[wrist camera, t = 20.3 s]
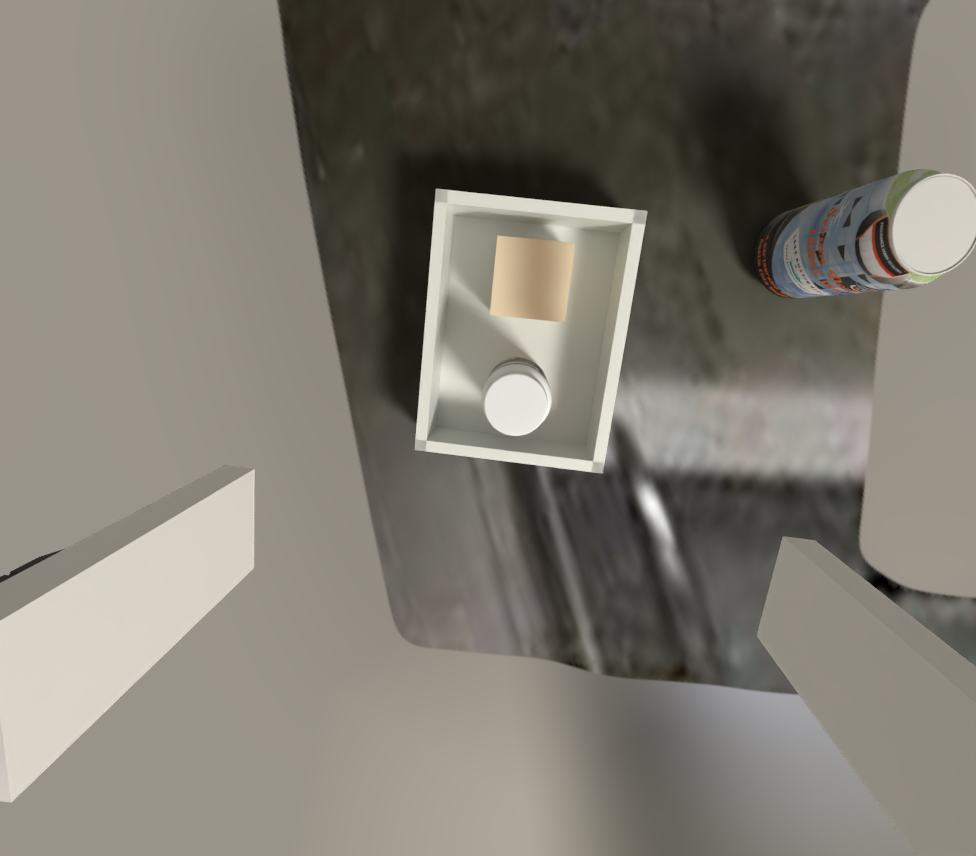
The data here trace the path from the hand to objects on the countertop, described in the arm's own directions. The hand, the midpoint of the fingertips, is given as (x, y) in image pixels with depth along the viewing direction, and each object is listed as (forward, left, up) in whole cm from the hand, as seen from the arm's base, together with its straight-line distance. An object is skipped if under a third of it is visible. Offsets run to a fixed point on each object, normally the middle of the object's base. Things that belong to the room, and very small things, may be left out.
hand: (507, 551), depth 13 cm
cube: (-8, 0, -28) cm, 29 cm away
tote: (-4, 0, -29) cm, 29 cm away
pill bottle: (0, 0, -28) cm, 28 cm away
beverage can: (-12, +19, -29) cm, 37 cm away
